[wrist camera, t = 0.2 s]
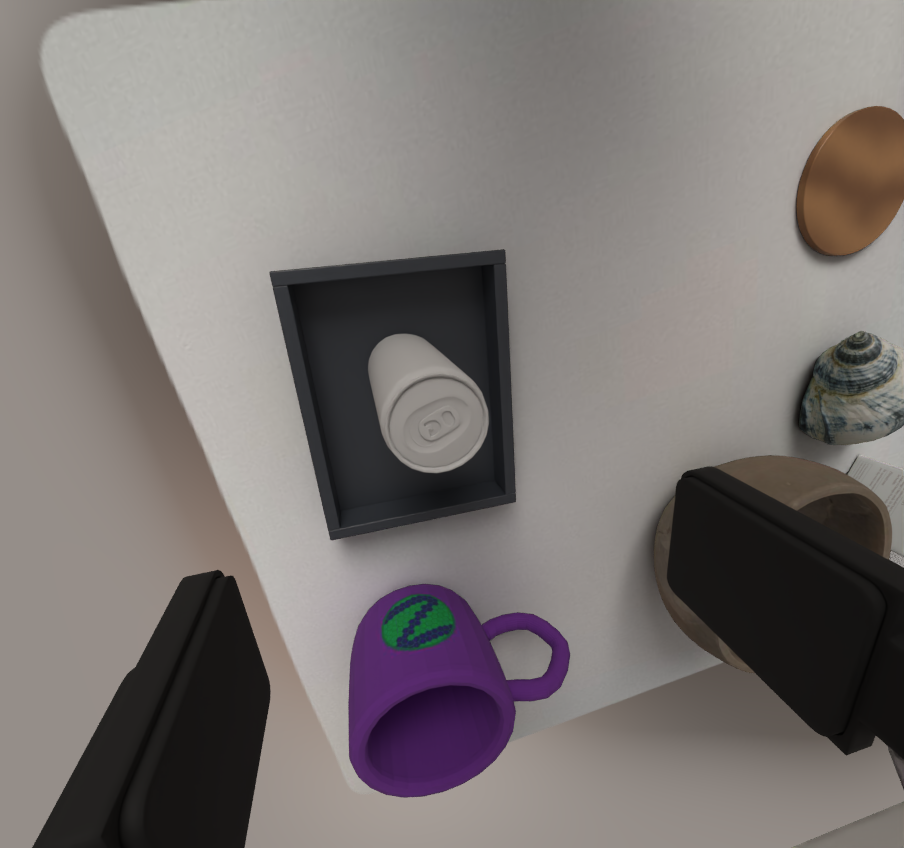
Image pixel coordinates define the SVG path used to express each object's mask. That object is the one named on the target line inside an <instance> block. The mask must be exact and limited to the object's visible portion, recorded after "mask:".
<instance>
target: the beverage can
mask: <svg viewBox="0 0 904 848" xmlns="http://www.w3.org/2000/svg"><path fill="white" fill-rule="evenodd" d="M368 374H369V379H370V384H371V388H372V392H373V397H374V401H375V406H376V410H377V414H378V419H379V423H380V428H381V432H382V435H383V438H384V440H385V442H386V444H387V446H388V448H389V449H390V450H391V451H392V452H393V453H394V455H395V456H396V457H397V458H398V459H399V460H400V461H401V462H402V463H404V464H405V465H407V466H408V467H410V468H412V469H415V470H418V471H421V472H426V473H440V472H445V471H450V470H452V469H455V468H457V467H459V466H462V465H463V464H464V463H466V462H467V461H468V460H470V459H471V458H472V457H473V456H474V455H475V454H476V452H477V451H478V450H479V449H480V448H481V446H482V444H483V441H484V439H485V437H486V435H487V430H488V425H489V416H488V408H487V405H486V403H485V400H484V397H483V394H482V392H481V390H480V389H479V388H478V386H477V385H476V383H475V382H474V381H473V380H472V379H471V378H470V377H469V376H467V375H466V374H465V373H464V372H463V371H462V370H460V369H459V368H458V367H457V366H456V365H455V364H453V363H452V362H451V361H450V360H449V359H448V358H447V357H445V356H444V355H443V354H442V353H441V352H440V351H438V350H437V349H436V348H435V347H434V346H432V345H431V344H430V343H429V342H427V341H426V340H425V339H424V338H421V337H419V336H416V335H412V334H395V335H392V336H389V337H386V338H385V339H383V340H382V341H380V342H379V343H378V344H377V345H376V347H375V348H374V349H373V351H372V353H371V356H370V358H369V363H368Z"/></svg>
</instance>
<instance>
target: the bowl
mask: <svg viewBox="0 0 904 848" xmlns="http://www.w3.org/2000/svg"><path fill="white" fill-rule="evenodd" d="M715 468H718V469H720V470H722V471H723V472H725V473H727V474H729V475H731V476H733V477H735V478H737V479H738V480H740V481H742V482H744V483H746V484H748V485H750V486H751V487H753V488H755V489H757V490H759V491H761V492H763V493H765V494H766V495H768V496H770V497H772V498H774V499H776V500H778V501H780V502H781V503H783V504H785V505H787V506H789V507H791V508H793V509H795V510H796V511H798V512H800V513H802V514H804V515H806V516H808V517H810V518H811V519H813V520H815V521H817V522H819V523H821V524H823V525H825V526H826V527H828V528H830V529H832V530H834V531H836V532H838V533H839V534H841V535H843V536H845V537H847V538H849V539H851V540H853V541H854V542H856V543H858V544H860V545H862V546H864V547H866V548H868V549H869V550H871V551H873V552H875V553H877V554H879V555H881V556H883V557H884V558H886V559H888V560H889V557H890V551H891V545H892V524H891V519H890V515H889V512H888V509H887V506H886V505H885V504H884V502H883V501H882V500H881V499H880V498H879V497H878V496H877V495H876V494H875V493H874V492H873V491H871V490H870V489H869V488H868V487H866V486H865V485H863V484H862V483H860V482H859V481H857V480H855V479H854V478H852V477H850V476H848V475H846V474H844V473H842V472H840V471H838V470H836V469H834V468H831V467H828V466H825V465H822V464H819V463H816V462H813V461H809V460H804V459H800V458H795V457H787V456H772V455H769V456H756V457H749V458H744V459H739V460H735V461H731V462H728V463H725V464H721V465H718V466H715ZM674 503H675V496H674V498H673V499H672V500H671V501H670V503H669V504H668V505H667V506H666V508H665V509H664V511H663V513H662V516H661V518H660V521H659V524H658V527H657V531H656V537H655V543H654V569H655V576H656V582H657V585H658V589H659V592H660V595H661V598H662V600H663V602H664V605H665V607H666V609H667V610H668V612H669V614H670V615H671V617H672V619H673V620H674V622H675V623H676V624H677V625H678V626H679V627H680V629H681V630H682V631H683V632H684V633H685V634H686V635H687V636H688V637H689V638H690V639H691V640H692V641H694V642H695V643H696V644H697V645H698V646H700V647H701V648H702V649H704V650H705V651H707V652H709V653H710V654H712V655H713V656H715V657H717V658H718V659H720V660H721V661H723V662H725V663H727V664H729V665H731V666H733V667H735V668H737V669H740V670H742V671H745V672H749V673H755V672H754V671H753V670H752V669H751V668H750V667H749V666H748V665H747V664H746V663H744V662H743V661H742V660H741V659H740V658H739V657H738V656H737V655H736V654H735V653H734V652H733V651H732V650H731V649H730V648H729V647H728V646H727V645H726V644H725V643H724V642H723V641H722V640H721V639H720V638H719V637H718V636H717V635H716V634H715V633H714V632H713V631H712V630H711V629H710V628H709V627H708V626H707V625H706V624H705V623H704V622H703V621H702V620H701V619H700V618H699V617H698V616H697V615H696V614H695V613H694V612H693V611H692V610H691V609H690V608H689V607H688V606H687V605H686V604H685V603H684V602H683V601H681V600H680V599H679V598H678V597H677V596H676V595H675V594H674V592H673V591H672V590H671V588H670V587H669V584H668V581H667V568H668V558H669V549H670V540H671V531H672V522H673V513H674Z"/></svg>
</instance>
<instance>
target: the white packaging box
mask: <svg viewBox="0 0 904 848" xmlns="http://www.w3.org/2000/svg"><path fill="white" fill-rule="evenodd" d="M847 475H848V476H850V477H852V478H854V479H855V480H857V481H859V482H860V483H862V484H863V485H865V486H866V487H868V488H869V489H870V490H871V491H873V492H874V493H875V494H876V495H877V496H878V497H879V498H880V499H881V500H882V501H883V502H884V504H885V505H886V506H887V509H888V512H889V515H890V519H891V524H892V545H891V551H893V552H895V553H897V554H899V555H901V556H903V557H904V469H902V468H899V467H896V466H893V465H890V464H887V463H884V462H881V461H878V460H875V459H872V458H868V457H865V456H861V455H859V456H858V457H857V459H856V461H855V463H854V464H853V466H852V468H851V469H850V471H849V473H848V474H847Z"/></svg>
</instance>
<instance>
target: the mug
mask: <svg viewBox="0 0 904 848" xmlns="http://www.w3.org/2000/svg"><path fill="white" fill-rule="evenodd" d="M513 630H529V631H531V632H533V633H535V634H536V635H538V636H539V637H540V638H542V639H543V640H544V641H545V642H546V643H547V644H548V645H550V646H551V648H552V657H551V662H550V664H549V667H548V669H547V671H546V673H545V674H544V675H543V676H542V677H539V678H534V679H516V680H506V678H505V676H504V673H503V671H502V668H501V666H500V663H499V661H498V659H497V656H496V654H495V652H494V650H493V648H492V645H491V643H490V640H492V639H493V638H494V637H495V636H497V635H500V634H502V633H505V632H509V631H513ZM569 659H570V652H569V647H568V642H567V641H566V640H565V638H564V637H563V636H562V635H561V633H560V632H559V631H558V630H557V629H556V628H554V627H553V626H552V625H551V624H550V623H548V622H547V621H545V620H543V619H542V618H540V617H538V616H536V615H534V614H527V613H518V612H517V613H511V614H505V615H501V616H498V617H495V618H493V619H490V620H488V621H487V622H486V623H484V624H483V625H481V623H480V622H479V620H478V618H477V617H476V615H475V614H474V612H473V611H472V609H471V608H470V606H469V605H468V604H467V602H466V601H465V600H464V599H463V598H461V597H460V596H459V595H458V594H456V593H455V592H453V591H452V590H450V589H447V588H445V587H442V586H439V585H430V584H420V585H412V586H407V587H404V588H401V589H398V590H395V591H393V592H391V593H389V594H388V595H386V596H384V597H382V598H381V599H380V600H378V601H377V602H376V603H375V604H374V605H373V606H372V607H371V608H370V609H369V610H368V612H367V613H366V615H365V616H364V618H363V619H362V621H361V623H360V624H359V626H358V629H357V633H356V636H355V639H354V643H353V648H352V654H351V662H350V680H349V758H350V761H351V763H352V765H353V768H354V770H355V772H356V774H357V775H358V777H359V778H360V779H361V780H362V781H363V782H365V783H366V784H367V785H368V786H369V787H370V788H372V789H374V790H377V791H379V792H381V793H383V794H386V795H392V796H398V797H421V796H427V795H431V794H435V793H440V792H444V791H446V790H449V789H451V788H454V787H456V786H459V785H461V784H463V783H465V782H467V781H468V780H470V779H472V778H473V777H475V776H477V775H478V774H480V773H481V772H482V771H483V770H485V769H486V768H487V767H488V766H489V765H490V764H491V763H493V762H494V761H495V760H496V758H497V757H498V756H499V755H500V753H501V752H502V751H503V749H504V748H505V747H506V745H507V743H508V741H509V739H510V736H511V734H512V732H513V728H514V721H515V714H516V710H515V706H514V701H536V700H541V699H546V698H548V697H550V696H551V695H552V694H553V693H554V692H555V691H557V690H558V689H559V688H560V687H561V685H562V683H563V681H564V678H565V676H566V674H567V671H568V666H569Z"/></svg>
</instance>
